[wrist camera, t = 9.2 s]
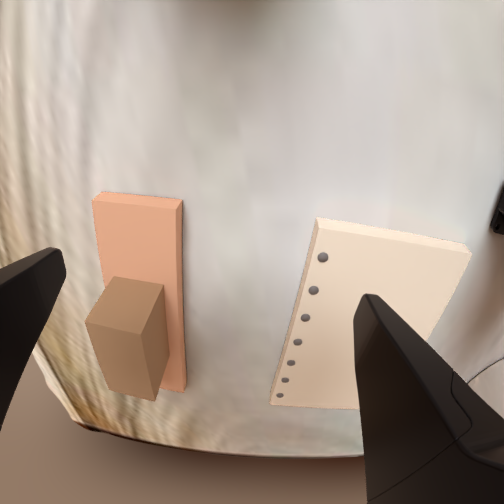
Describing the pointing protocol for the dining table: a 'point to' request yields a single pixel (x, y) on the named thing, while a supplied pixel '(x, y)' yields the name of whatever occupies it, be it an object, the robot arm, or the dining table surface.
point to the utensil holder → (491, 386)
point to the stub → (139, 294)
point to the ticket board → (348, 297)
